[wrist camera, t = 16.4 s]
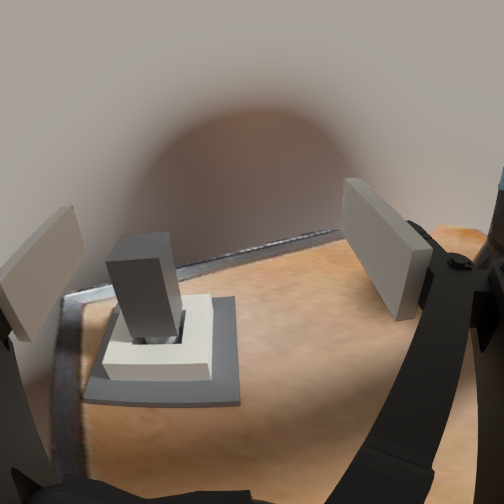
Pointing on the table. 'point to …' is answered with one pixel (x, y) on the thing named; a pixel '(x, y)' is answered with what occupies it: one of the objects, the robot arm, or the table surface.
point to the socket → (171, 361)
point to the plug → (147, 286)
